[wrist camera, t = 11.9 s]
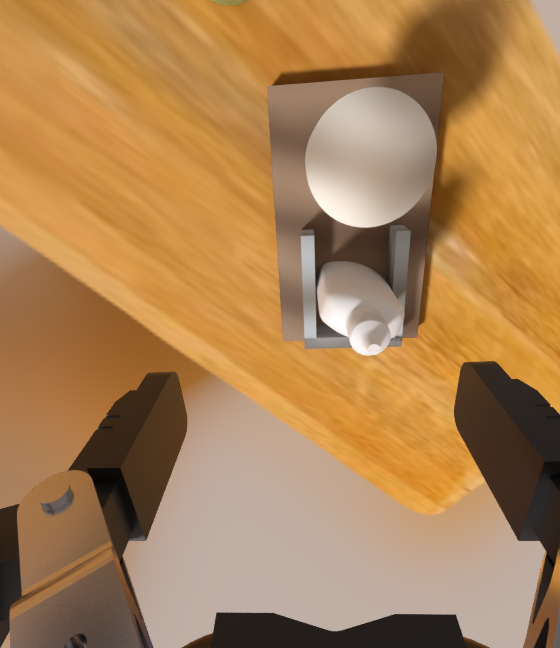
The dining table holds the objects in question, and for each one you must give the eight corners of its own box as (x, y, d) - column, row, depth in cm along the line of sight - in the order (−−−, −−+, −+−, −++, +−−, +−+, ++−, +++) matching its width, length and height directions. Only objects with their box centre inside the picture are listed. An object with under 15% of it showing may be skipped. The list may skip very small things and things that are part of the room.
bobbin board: (268, 89, 28) (252, 61, 19) (437, 75, 27) (502, 40, 18) (283, 333, 36) (277, 393, 27) (412, 330, 35) (449, 390, 26)
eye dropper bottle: (353, 319, 33) (377, 401, 22) (308, 277, 32) (310, 343, 21) (392, 285, 32) (438, 356, 21) (346, 239, 30) (370, 289, 20)
